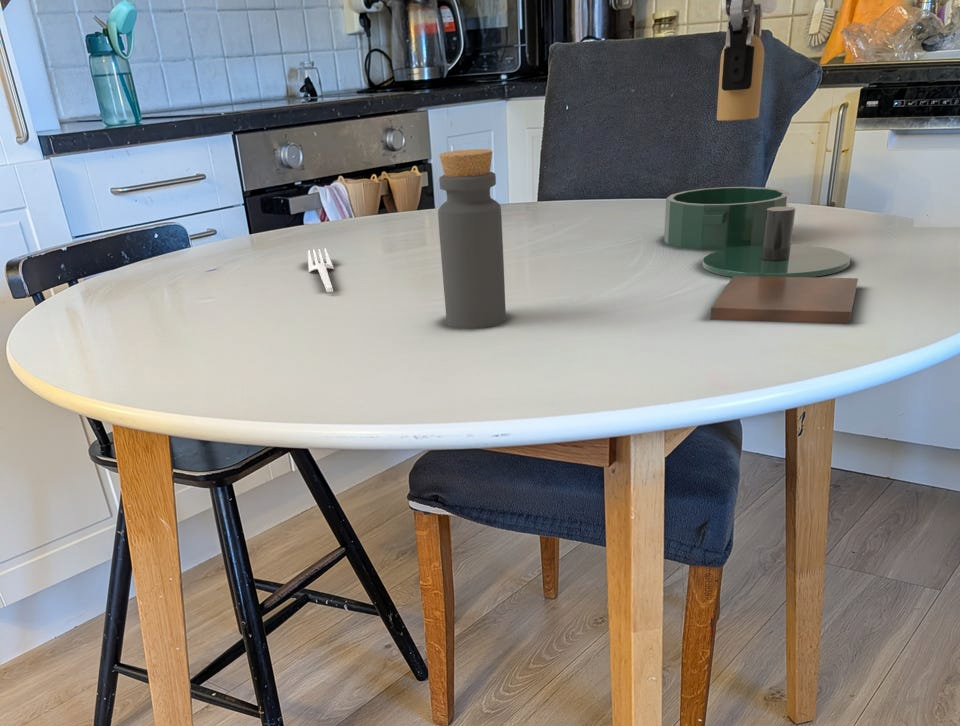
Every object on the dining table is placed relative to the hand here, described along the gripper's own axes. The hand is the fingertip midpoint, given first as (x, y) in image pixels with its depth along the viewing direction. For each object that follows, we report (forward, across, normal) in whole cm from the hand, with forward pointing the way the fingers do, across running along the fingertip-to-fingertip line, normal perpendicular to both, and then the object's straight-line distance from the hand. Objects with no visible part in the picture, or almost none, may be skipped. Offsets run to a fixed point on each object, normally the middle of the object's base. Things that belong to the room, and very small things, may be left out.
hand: (740, 86), depth 101 cm
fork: (+17, -23, +46) cm, 54 cm away
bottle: (+17, -41, +18) cm, 48 cm away
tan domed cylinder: (+3, 0, 0) cm, 3 cm away
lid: (+17, -14, -7) cm, 23 cm away
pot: (+17, +1, +1) cm, 17 cm away
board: (+17, -31, -10) cm, 37 cm away
